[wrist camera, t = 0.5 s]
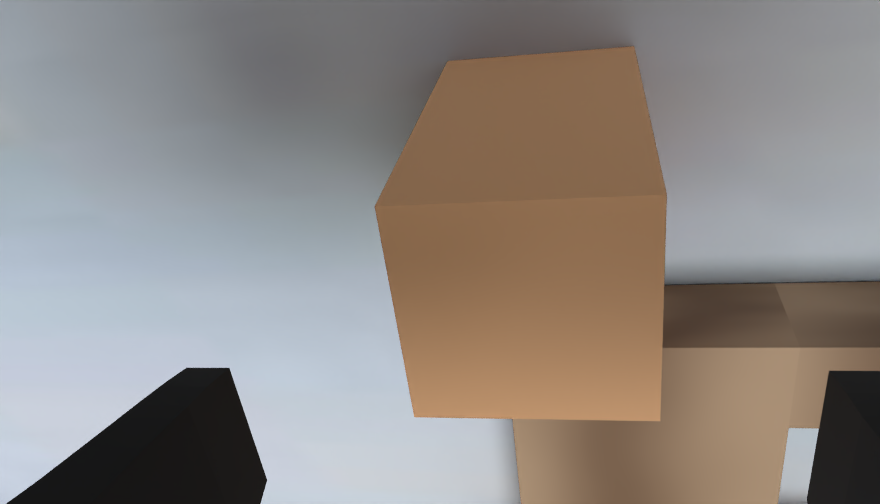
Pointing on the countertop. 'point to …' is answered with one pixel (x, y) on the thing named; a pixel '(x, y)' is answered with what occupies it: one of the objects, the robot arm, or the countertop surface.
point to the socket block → (712, 399)
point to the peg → (530, 241)
